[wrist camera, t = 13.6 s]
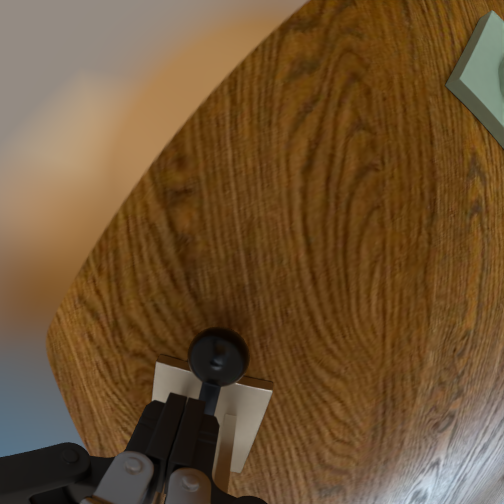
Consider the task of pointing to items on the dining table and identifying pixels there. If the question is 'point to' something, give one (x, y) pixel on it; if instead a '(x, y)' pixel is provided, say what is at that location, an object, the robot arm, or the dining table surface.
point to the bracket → (218, 414)
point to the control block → (483, 75)
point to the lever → (217, 362)
